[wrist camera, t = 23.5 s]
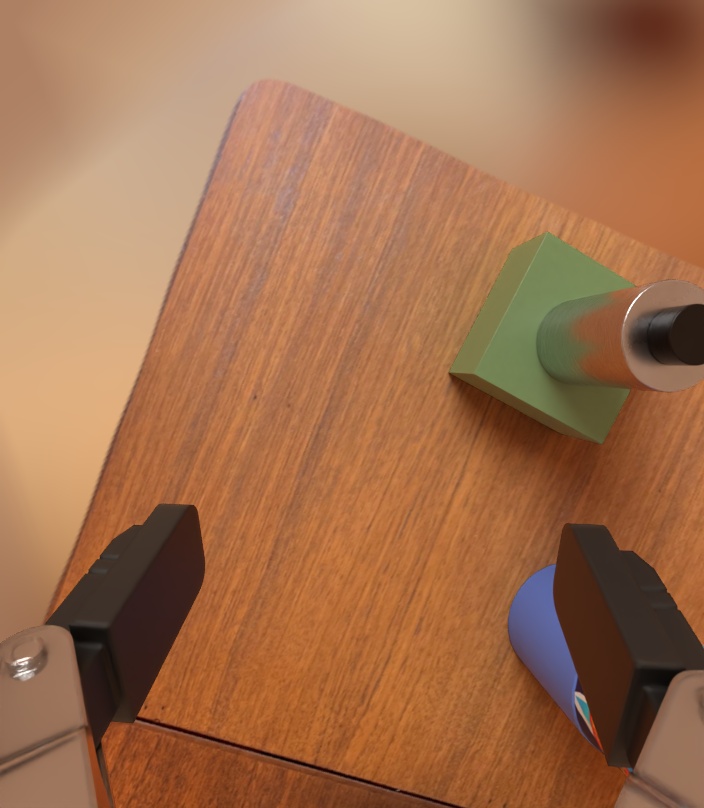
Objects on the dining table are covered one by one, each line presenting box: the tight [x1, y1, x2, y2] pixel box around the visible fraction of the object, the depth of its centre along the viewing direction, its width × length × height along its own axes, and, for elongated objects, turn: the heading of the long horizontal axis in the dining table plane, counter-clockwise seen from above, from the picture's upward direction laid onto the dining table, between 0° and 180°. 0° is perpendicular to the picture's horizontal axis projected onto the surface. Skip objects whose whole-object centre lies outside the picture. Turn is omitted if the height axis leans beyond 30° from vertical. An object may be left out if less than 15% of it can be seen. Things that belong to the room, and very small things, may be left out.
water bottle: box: [508, 564, 704, 777], centre depth 29 cm, size 9×9×25 cm
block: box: [449, 232, 636, 444], centre depth 36 cm, size 10×10×5 cm
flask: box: [536, 279, 704, 392], centre depth 29 cm, size 5×5×10 cm
